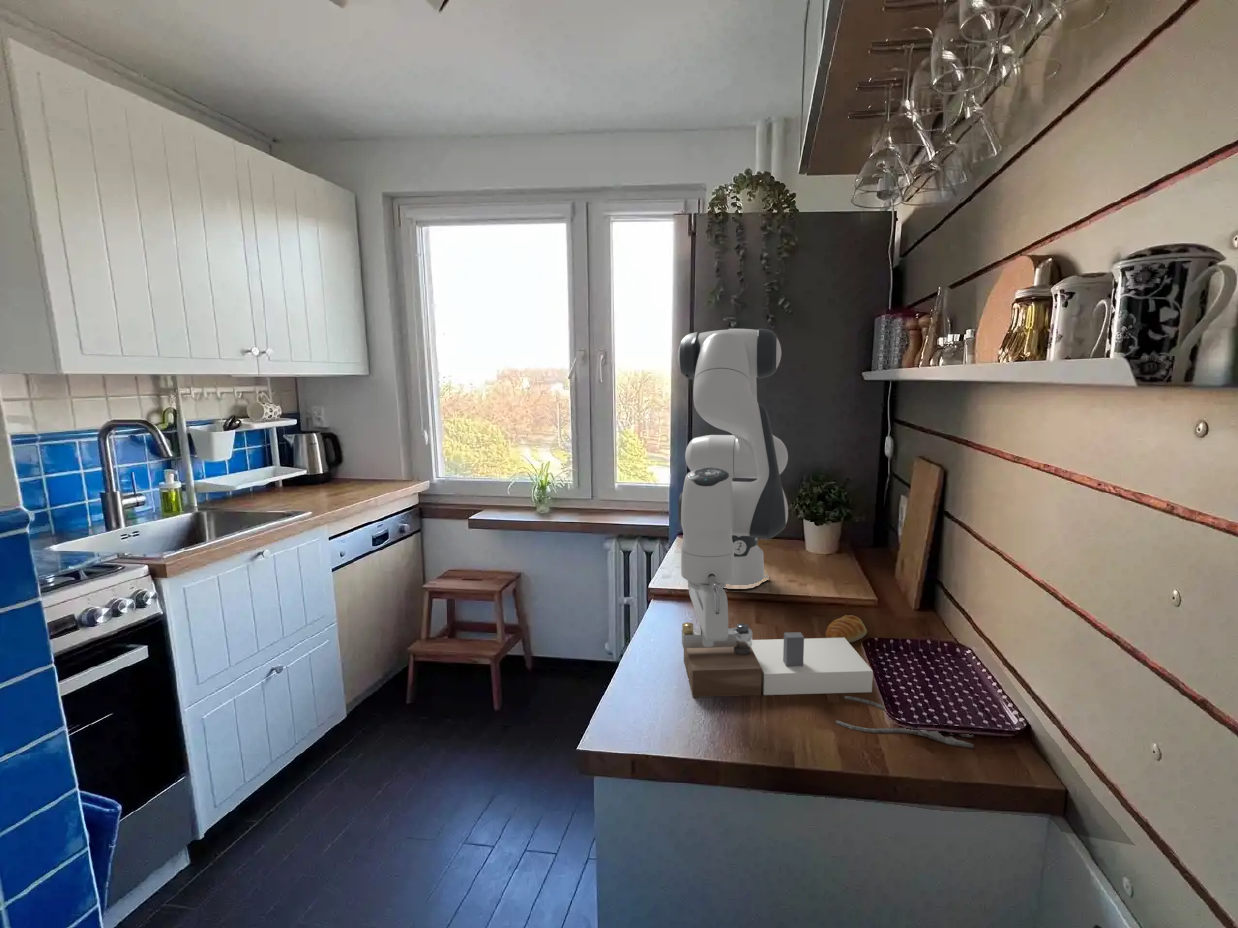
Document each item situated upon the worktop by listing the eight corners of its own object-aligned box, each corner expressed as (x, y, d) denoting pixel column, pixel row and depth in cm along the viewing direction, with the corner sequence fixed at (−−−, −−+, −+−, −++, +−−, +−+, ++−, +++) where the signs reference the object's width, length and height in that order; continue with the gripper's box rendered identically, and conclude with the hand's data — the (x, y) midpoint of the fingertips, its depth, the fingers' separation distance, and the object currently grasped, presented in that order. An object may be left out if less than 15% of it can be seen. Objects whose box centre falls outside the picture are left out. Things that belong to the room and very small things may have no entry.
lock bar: (749, 638, 113) (750, 618, 113) (754, 647, 110) (754, 627, 109) (681, 640, 113) (681, 620, 112) (683, 649, 110) (683, 628, 109)
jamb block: (683, 660, 119) (683, 631, 118) (744, 659, 119) (745, 629, 118) (692, 696, 106) (692, 663, 105) (761, 695, 106) (761, 662, 105)
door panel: (747, 659, 119) (748, 613, 117) (843, 656, 119) (845, 610, 118) (763, 694, 106) (765, 644, 105) (871, 692, 106) (874, 641, 105)
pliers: (834, 693, 106) (963, 711, 100) (834, 697, 106) (962, 715, 100) (835, 724, 97) (978, 746, 90) (835, 729, 97) (977, 751, 91)
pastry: (846, 650, 122) (847, 632, 122) (816, 639, 127) (816, 622, 127) (868, 635, 128) (869, 618, 128) (839, 626, 133) (839, 609, 133)
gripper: (739, 587, 92) (737, 672, 94) (715, 547, 112) (715, 618, 114) (697, 588, 92) (697, 673, 94) (681, 548, 112) (681, 619, 114)
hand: (706, 642), depth 104 cm, fingers closed
